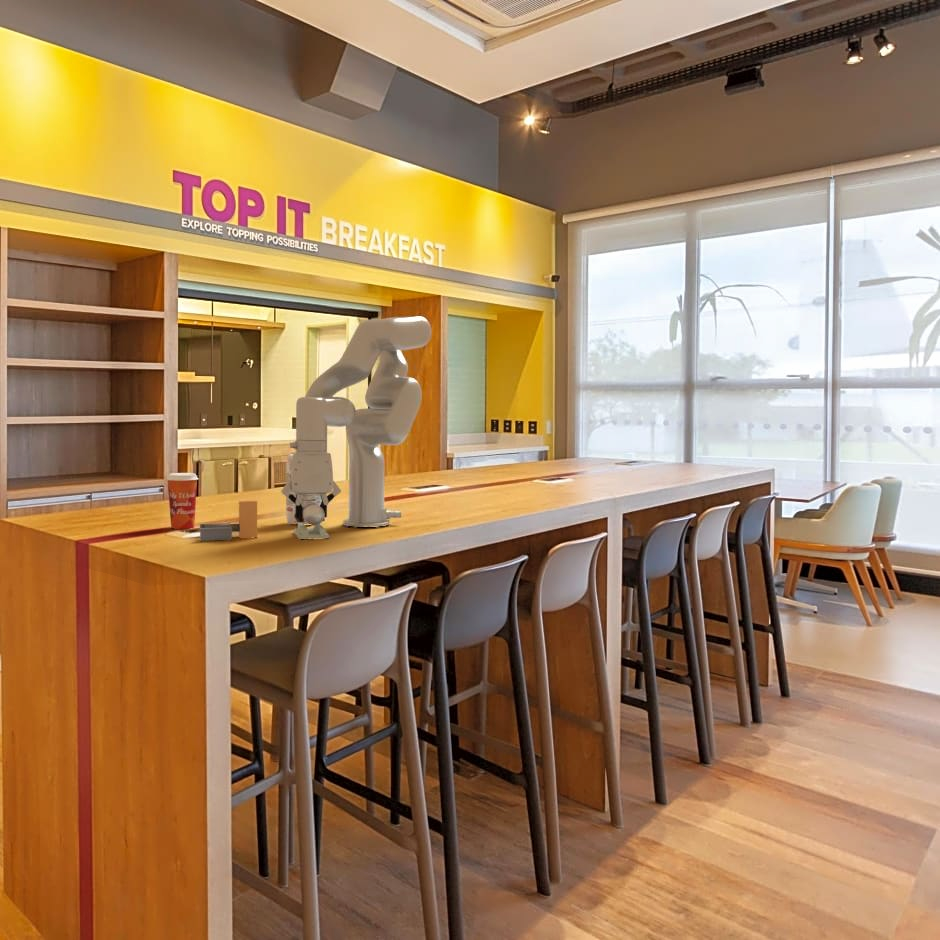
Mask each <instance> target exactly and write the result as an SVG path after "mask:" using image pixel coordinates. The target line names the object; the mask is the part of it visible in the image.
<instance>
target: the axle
mask: <svg viewBox="0 0 940 940" xmlns="http://www.w3.org/2000/svg"><path fill="white" fill-rule="evenodd" d="M302 517H303V518H304V519H305V520H306V521H307V522H308V523H309V524H311V526H314V525H318V524H320V525H321V523H323V522H324V521H323V520H324V517H325V513H324V510H323V509H322V508H321V507H320V506H319V505H317V504H316V503H315V502H313V501H307V502H304V503H303V504H302ZM325 518H326V517H325Z"/></svg>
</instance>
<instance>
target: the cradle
mask: <svg viewBox="0 0 940 940" xmlns="http://www.w3.org/2000/svg"><path fill="white" fill-rule="evenodd" d="M306 526H307V525H304V524H303V523H298V525H297V528H294V529H293V534H294V535H295V534H296V535H297V536H296V535H295V536H296V537H297V539H298V540H299V539H309V538H329V539H330V534H329V533H327V531H326V529H325V528H324V526H323V525H321V523H320V524H318V525H313V528H312V527H311V528H308V527H306Z"/></svg>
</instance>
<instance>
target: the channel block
mask: <svg viewBox="0 0 940 940" xmlns="http://www.w3.org/2000/svg"><path fill="white" fill-rule="evenodd" d="M205 524H206V523H200V524H199V537H200V536H201V537H200V542H215V541H214V540H228V541H233V540H232V539H233V537H232V536H233V534H232V533H233V532H232V527H220V528H205ZM209 524H231V522H219V523H218V522H215V523H211V522H210V523H209Z"/></svg>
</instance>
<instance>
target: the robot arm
mask: <svg viewBox="0 0 940 940" xmlns="http://www.w3.org/2000/svg"><path fill="white" fill-rule="evenodd" d="M432 333H433V332H432V326H431V324H430V322H429V320H427V318H425V317H424V316H418V315H417V316H415V315H414V316H395V317H394V316H393V317H386V318H376V319H375V318H374V319H373V318H372V319H366V320H364V321H362V322H360V323H359V325H358V326H357V327H356V329H355V331H354V333H353V335H352V337H351V338H350V340H349V342H348V343H347V347H346V348H345V350H344V352H343V354H342V355H341V358H340V359H339V360H338V361H337V362H336V363H335V364H333V365H331V366H329V368H328V369H326V370H325V371H324V372H322V374H320V375H319V376H318V377H317V378H315V380H314V381H313V382H312V383H311V385H310V386H309V389H308V391H307V392H306V395H304V396H301V397H298V398H297V400H296V404H295V405H296V406H295V410H296V411H295V412H296V413H295V414H296V415H295V441H292V442H290V443H289V448H290V449H294V450H295V452H293V453H292V454H293V457H292V464H291V474H290V480H289V481H288V483H287V484H285V485H284V486H283V488H282V489H281V490H280V492H281V494H282V495H284V496H285V497H288V498H289V499H290V500H291V501H292V502H293V503H294V504H295V517H296V518H298V521H299V522H302V505H301V500H302V496H303V494H320V496H321V500H322V502H321V505H320V507H321V508H322V509H323V510H324V513H325V517H324V520H323V521H322V522H325V518H327V517H328V505H329V504H330V503H331V502H332V500H333V499H334V498H335V497H337V496H338V495H339V494H341V492H342V489H341V488H340V487H339V486H338V484H337V483H336V482H335V481H334V472H333V459H332V455H331V453H330V452H328V427H332V428H333V427H336V428H343V427H345V432H346V438H347V443H348V456H349V457H348V458H349V462H348V463H349V466H348V469H349V471H348V518H345V519H343V521H342V525H343V524H344V525H343V526H345V525H347V526H346V527H348V526H356V527H355V528H357V527H364V526H383V525H387V524H389V523H390V524H391V522H390V519H391V518H392V519H393V518H394V519H396V518H398V519H399V518H402V511H401V510H389V509H387V508H385V475H386V473H385V468H386V466H385V465H386V463H385V457H384V454H383V451H382V450H381V447H380V445H381V446H382V445H383V446H397V445H398V446H399V445H400V444H402V443H404V441H405V440H406V439H407V437H408V435H409V433H410V430H411V429H412V426H413V424H414V422H415V419H416V417H417V414H418V412H419V410H420V408H421V404H422V400H423V399H422V397H423V393H422V392H423V391H422V388H421V385H420V383H419V382H418V380H416V379H415V378H413V377H409V376H408V372H409V365H408V362H407V360H406V358H405V356H404V355H403V352H402V351H408V350H414V349H419V348H423V347H425V346H427V345H428V343H429V342H430V340H431V338H432ZM377 360H379V361H378V365H377V367H376V369H375V372H374V374H373V376H372V378H371V380H370V382H369V384H368V387H367V388H366V392H365V395H364V400H365V403H366V405H367V407H368V408H366V407H365V408H357V409H356V407H355V405H354V403H353V402H352V401H351V400H350V399H348V398H346V397H342V396H335V395H336V394H338V393H339V392H341V391H342V390H344V389H347V388H349V387H352V386H354V385H356V384H359V383H361V382H362V381H364V380H366V379H368V378H369V376H370V375H371V372H372V370H373V368H374V367H375V364H376V362H377ZM289 489H291V490H292V491H293V492H294V493H296V496H295V497H294V496H293V495H292V494H291V493H290V492H289ZM390 524H389V525H390Z"/></svg>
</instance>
